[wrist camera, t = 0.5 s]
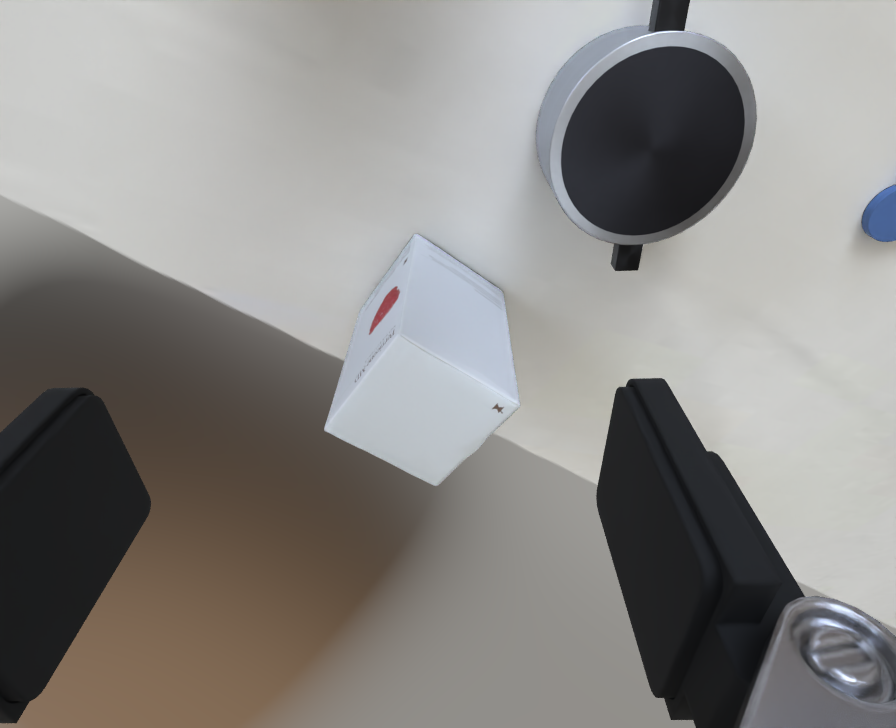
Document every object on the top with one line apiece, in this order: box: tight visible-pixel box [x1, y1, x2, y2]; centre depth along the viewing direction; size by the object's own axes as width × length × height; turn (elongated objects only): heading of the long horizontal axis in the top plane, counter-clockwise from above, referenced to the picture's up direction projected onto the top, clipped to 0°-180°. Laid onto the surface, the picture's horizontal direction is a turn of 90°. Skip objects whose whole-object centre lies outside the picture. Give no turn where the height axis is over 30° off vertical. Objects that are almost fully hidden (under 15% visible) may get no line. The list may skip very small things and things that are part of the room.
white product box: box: [324, 234, 520, 486], centre depth 38 cm, size 9×9×15 cm
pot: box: [536, 0, 757, 271], centre depth 34 cm, size 16×12×6 cm
